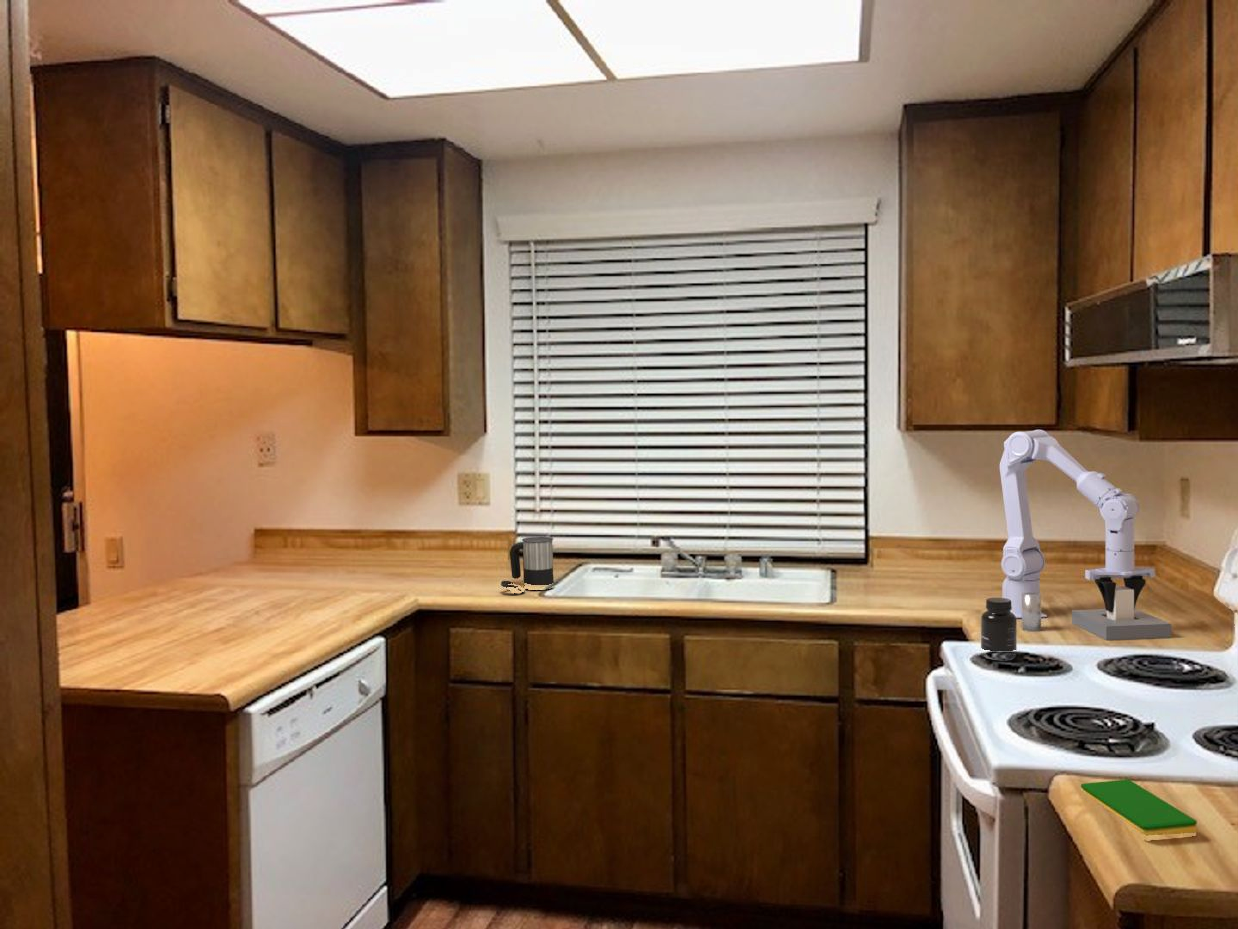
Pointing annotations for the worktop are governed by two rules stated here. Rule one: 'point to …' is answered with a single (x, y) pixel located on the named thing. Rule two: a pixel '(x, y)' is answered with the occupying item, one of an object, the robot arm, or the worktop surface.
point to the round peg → (1031, 611)
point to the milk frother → (532, 561)
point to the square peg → (1122, 604)
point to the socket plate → (1121, 625)
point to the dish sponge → (1140, 808)
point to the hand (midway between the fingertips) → (1119, 610)
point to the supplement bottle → (998, 626)
